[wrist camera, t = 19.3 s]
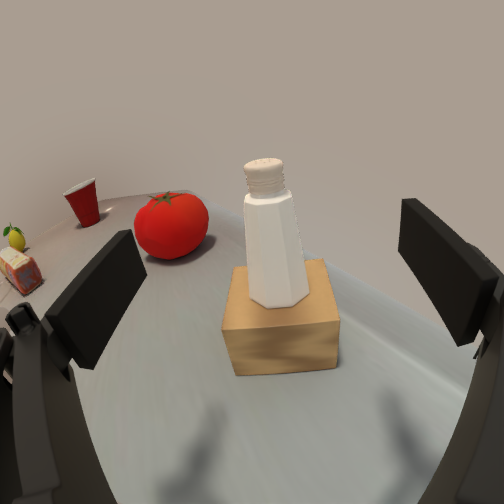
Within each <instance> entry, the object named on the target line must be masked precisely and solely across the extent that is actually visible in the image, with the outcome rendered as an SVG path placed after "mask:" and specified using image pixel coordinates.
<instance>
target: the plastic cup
mask: <svg viewBox="0 0 504 504" xmlns="http://www.w3.org/2000/svg"><path fill="white" fill-rule="evenodd" d="M63 196H65V198H66V199H67V200H68V202H69V203H70V205H71V207H72V209H73V211H74V212H75V214H76V216H77V217H78V219H79V221H80V223H81V225H82V226H83V227H88V226H91V225H93V224H95V223H97V222H98V221H99V220H100V216H99V210H98V202H97V197H96V188H95V178H92V179H89V180H87V181H85V182H83V183H80V184H78V185H77V186H75V187H73V188H71V189H69V190H68V191H67V192H65V193H63Z"/></svg>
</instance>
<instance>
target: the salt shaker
mask: <svg viewBox="0 0 504 504" xmlns="http://www.w3.org/2000/svg"><path fill="white" fill-rule="evenodd" d="M243 169H244V172H245V174H246V176H247V178H246V180H247V185H248V186H249V192H250V193H249V194H247V195H246V196H245V199H244V222H245V238H246V253H247V268H248V283H249V297H250V299H251V300H253V301H255V302H257V303H258V304H260V305H262V306H264V307H265V308H267V309H271V308H283V307H293V306H294V305H295V304H296V303H298V302H299V301H300V300H302V299H303V298H304V297H305V296H307V295H308V294H309V286H308V280H307V274H306V268H305V263H304V257H303V251H302V246H301V240H300V235H299V230H298V224H297V219H296V214H295V209H294V204H293V200H292V195H291V192H290V191H289V190H287V189H284V188H285V187H284V184H283V181H284V179H283V178H284V176H283V175H284V174H283V173H282V171H283V162H282V161H281V160H279V159H275V158H266V159H258V160H254V161H251V162H249V163H247V164H246V165H245V166H244V168H243Z"/></svg>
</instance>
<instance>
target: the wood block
mask: <svg viewBox="0 0 504 504" xmlns="http://www.w3.org/2000/svg"><path fill="white" fill-rule="evenodd" d="M304 263H305V268H306V274H307V280H308V286H309V294H308V295H307V296H305V297H304V298H303V299H302V300H300V301H299V302H298V303H296V304H295V305H294V306H293V307H283V308H271V309H267V308H265V307H264V306H262V305H260V304H258V303H257V302H255V301H253V300H251V299H250V297H249V283H248V268H247V266H241V267H234V270H233V274H232V279H231V284H230V289H229V294H228V299H227V304H226V309H225V314H224V319H223V324H222V329H221V330H222V334H223V337H224V340H225V344H226V347H227V350H228V353H229V356H230V359H231V363H232V366H233V369H234V372H235V375H261V374H279V373H292V372H304V371H314V370H323V369H331V368H336V364H337V354H338V343H339V330H340V317H339V313H338V309H337V306H336V302H335V298H334V295H333V291H332V287H331V284H330V280H329V277H328V273H327V270H326V266H325V263H324V260H323V259H313V260H304Z"/></svg>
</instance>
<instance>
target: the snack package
mask: <svg viewBox="0 0 504 504" xmlns="http://www.w3.org/2000/svg"><path fill="white" fill-rule="evenodd" d="M0 270H1V272H2V273H3V274H4V275H5V276H6V277H7V278H8V280H9V281H11V282H12V283H13V284H14V285H15V286H16V287H17V288H18V289H19V290H20V292H21V293H23V294H28V293H30V292H31V291H33V290H34V289H35V288H36V287H37V286H38V285H39V284H40V283H41V279H42V276H41V272H40V270H39V268H38V266H37V264H36V262H35V260H34V259H33V258H32V257H29V256H27V255H25V254H24V253H22V252H20V251H18V250H17V249H15V248H14V247H12V246H9V247H7V248H5V249H3V250H1V252H0Z"/></svg>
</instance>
